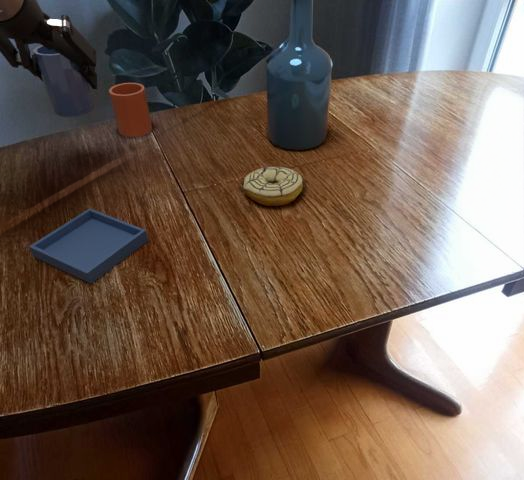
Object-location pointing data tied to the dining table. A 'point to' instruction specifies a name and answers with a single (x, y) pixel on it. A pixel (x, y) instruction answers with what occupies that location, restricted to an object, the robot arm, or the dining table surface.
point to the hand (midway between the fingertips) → (73, 81)
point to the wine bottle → (298, 85)
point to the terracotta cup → (131, 109)
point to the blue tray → (89, 245)
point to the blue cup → (63, 83)
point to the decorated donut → (273, 185)
